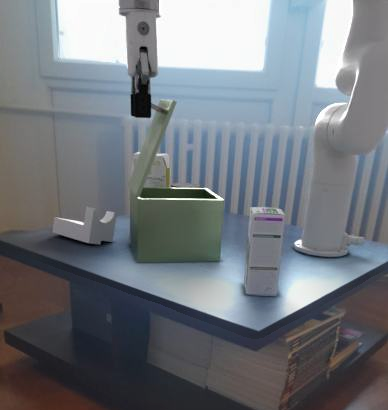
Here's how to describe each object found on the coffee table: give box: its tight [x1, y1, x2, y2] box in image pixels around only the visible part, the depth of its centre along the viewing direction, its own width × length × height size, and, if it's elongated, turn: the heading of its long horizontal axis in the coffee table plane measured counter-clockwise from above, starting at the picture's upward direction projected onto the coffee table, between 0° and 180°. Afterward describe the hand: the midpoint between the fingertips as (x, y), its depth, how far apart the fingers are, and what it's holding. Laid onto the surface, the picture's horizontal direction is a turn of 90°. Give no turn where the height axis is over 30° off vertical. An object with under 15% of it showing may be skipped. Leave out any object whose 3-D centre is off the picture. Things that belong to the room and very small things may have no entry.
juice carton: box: [130, 151, 171, 188], centre depth 121 cm, size 8×9×19 cm
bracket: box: [51, 206, 118, 245], centre depth 117 cm, size 13×7×8 cm, turn 51°
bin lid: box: [128, 98, 178, 197], centre depth 100 cm, size 18×15×5 cm
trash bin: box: [129, 187, 225, 264], centre depth 108 cm, size 18×15×13 cm
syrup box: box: [243, 206, 286, 297], centre depth 88 cm, size 6×6×14 cm
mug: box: [170, 182, 202, 188], centre depth 136 cm, size 11×8×10 cm
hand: (140, 116), depth 98 cm, fingers closed on bin lid, 5 cm apart
